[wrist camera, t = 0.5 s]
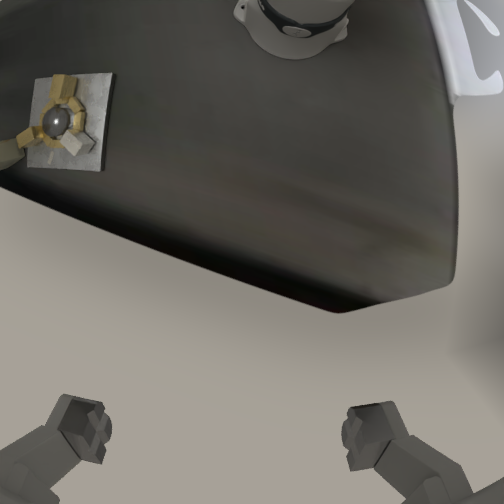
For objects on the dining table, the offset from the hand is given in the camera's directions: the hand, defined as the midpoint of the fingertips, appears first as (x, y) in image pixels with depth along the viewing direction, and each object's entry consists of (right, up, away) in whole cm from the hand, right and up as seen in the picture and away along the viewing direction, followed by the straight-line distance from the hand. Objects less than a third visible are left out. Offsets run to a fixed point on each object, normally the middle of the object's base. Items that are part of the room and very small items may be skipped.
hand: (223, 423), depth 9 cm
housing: (-32, +29, +36) cm, 56 cm away
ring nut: (-32, +29, +34) cm, 55 cm away
